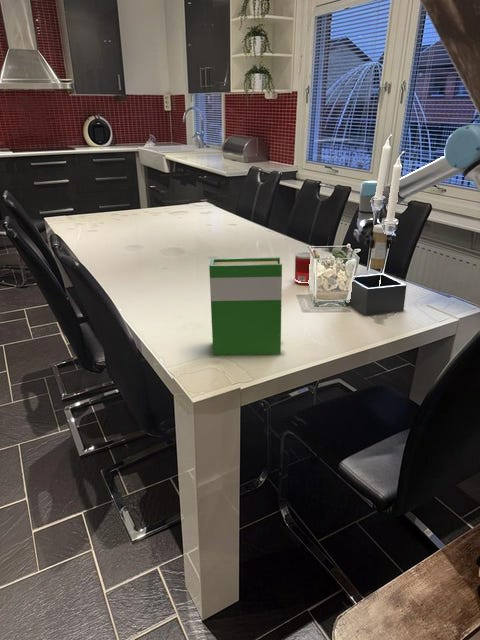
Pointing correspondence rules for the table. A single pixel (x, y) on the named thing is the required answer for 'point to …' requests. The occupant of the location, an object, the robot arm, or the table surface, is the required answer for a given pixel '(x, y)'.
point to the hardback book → (246, 305)
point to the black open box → (377, 294)
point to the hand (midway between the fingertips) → (380, 244)
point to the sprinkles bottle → (378, 247)
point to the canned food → (302, 267)
